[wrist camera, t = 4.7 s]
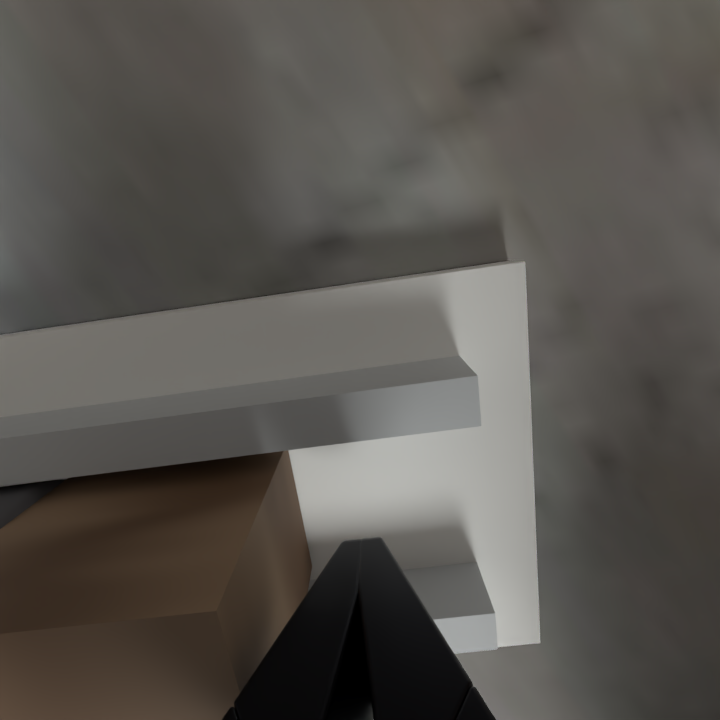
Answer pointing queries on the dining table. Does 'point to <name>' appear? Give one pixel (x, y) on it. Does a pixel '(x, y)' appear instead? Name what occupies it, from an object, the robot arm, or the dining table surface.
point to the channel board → (321, 421)
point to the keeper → (149, 590)
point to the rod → (22, 498)
